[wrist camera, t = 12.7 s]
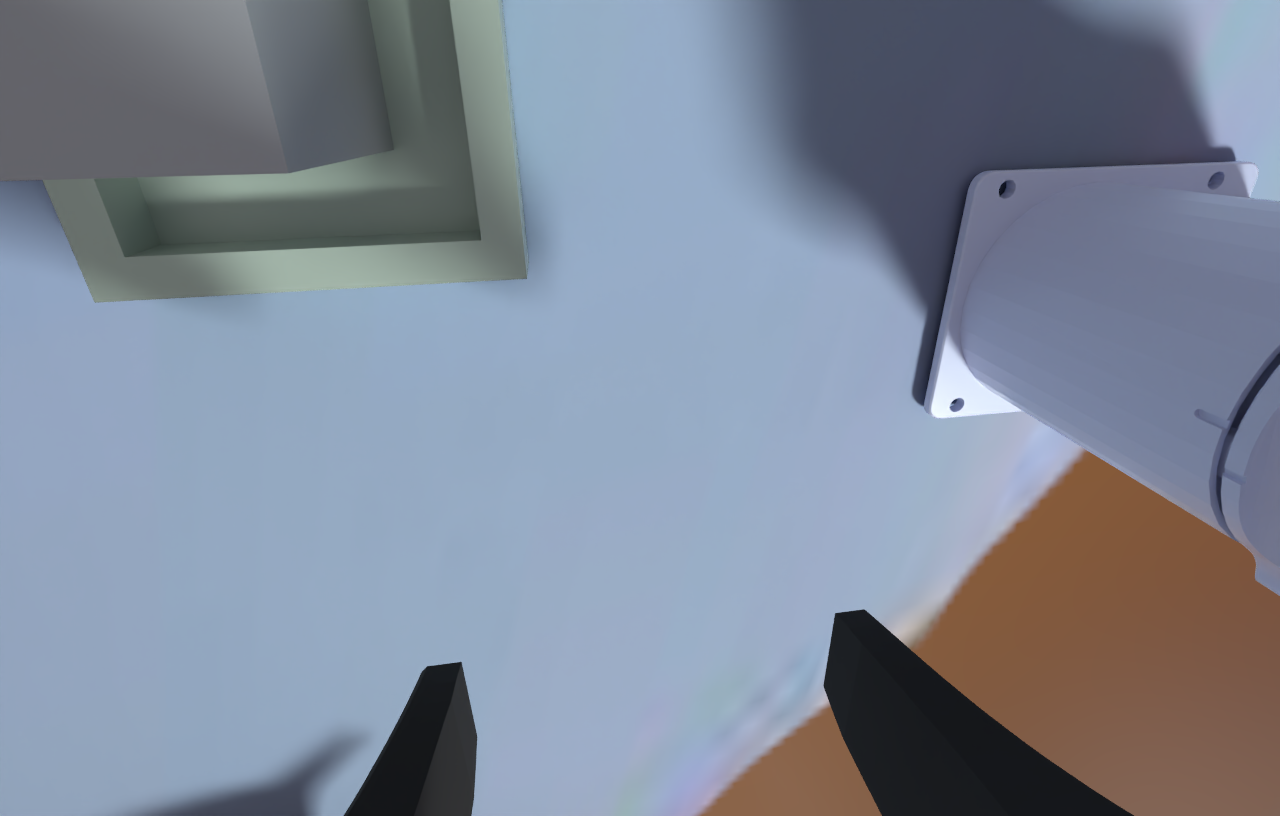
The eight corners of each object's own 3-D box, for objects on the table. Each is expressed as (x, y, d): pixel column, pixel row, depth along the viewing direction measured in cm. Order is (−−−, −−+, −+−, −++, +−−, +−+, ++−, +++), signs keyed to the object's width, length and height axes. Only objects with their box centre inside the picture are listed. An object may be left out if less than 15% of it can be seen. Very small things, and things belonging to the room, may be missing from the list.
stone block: (359, -49, 13) (195, -197, 7) (394, 150, 15) (288, 173, 9) (160, -52, 13) (-207, -214, 6) (220, 153, 14) (-23, 181, 8)
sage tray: (480, -215, 13) (470, -269, 11) (528, 261, 17) (527, 278, 15) (-55, -238, 11) (-165, -303, 10) (144, 281, 16) (94, 302, 14)
